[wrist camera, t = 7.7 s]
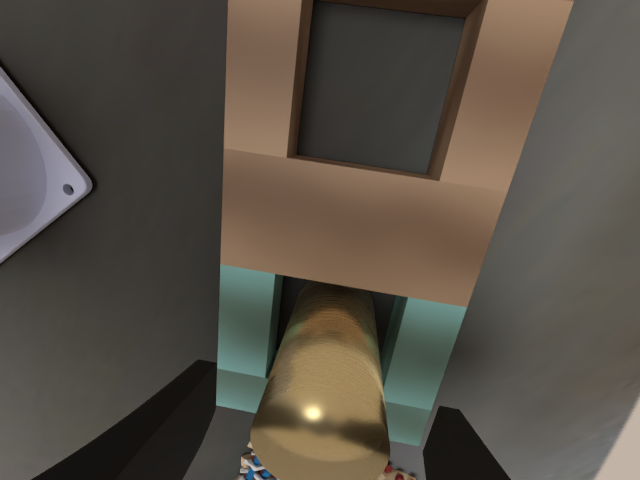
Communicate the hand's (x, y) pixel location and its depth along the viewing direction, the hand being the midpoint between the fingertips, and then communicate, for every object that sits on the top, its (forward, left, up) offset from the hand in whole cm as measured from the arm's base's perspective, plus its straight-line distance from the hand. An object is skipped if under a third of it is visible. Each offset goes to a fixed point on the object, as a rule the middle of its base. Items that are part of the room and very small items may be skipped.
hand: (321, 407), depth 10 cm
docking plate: (+3, +4, -6) cm, 7 cm away
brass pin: (0, 0, -6) cm, 6 cm away
